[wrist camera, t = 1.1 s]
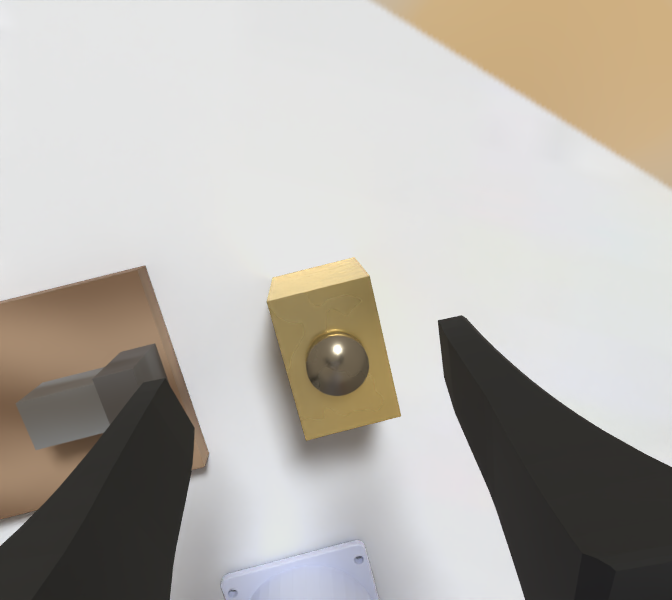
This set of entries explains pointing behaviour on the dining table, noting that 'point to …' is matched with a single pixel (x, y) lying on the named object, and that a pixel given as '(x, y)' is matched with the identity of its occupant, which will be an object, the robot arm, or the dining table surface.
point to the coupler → (333, 347)
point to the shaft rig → (76, 377)
